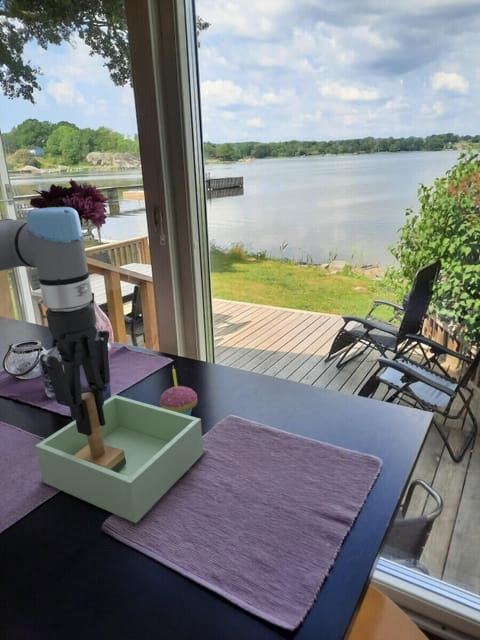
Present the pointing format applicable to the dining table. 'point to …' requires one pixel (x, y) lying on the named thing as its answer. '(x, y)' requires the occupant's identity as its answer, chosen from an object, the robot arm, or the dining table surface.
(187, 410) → the cupcake
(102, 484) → the tub
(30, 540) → the dining table surface
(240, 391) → the dining table surface
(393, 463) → the dining table surface
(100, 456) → the wooden stamp
